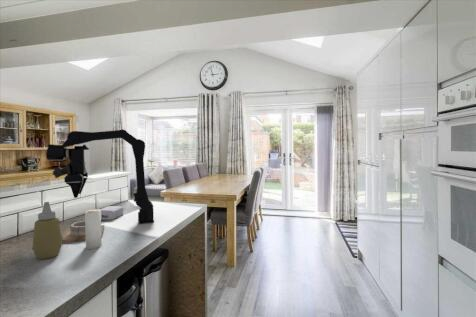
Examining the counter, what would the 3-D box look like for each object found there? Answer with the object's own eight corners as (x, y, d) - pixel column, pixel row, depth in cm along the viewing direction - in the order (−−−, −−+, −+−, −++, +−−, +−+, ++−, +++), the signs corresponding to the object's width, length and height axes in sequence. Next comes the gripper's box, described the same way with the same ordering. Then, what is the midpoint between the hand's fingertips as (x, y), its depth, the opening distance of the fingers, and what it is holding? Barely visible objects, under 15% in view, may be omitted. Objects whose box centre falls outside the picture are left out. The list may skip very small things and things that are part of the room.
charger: (129, 212, 141) (113, 220, 126) (113, 211, 141) (96, 219, 127) (128, 203, 141) (113, 210, 126) (112, 203, 141) (95, 210, 126)
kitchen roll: (102, 242, 96) (101, 208, 95) (100, 247, 91) (100, 212, 91) (86, 244, 94) (86, 210, 93) (84, 250, 89) (84, 213, 89)
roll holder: (104, 227, 113) (104, 217, 113) (101, 238, 101) (101, 226, 100) (67, 231, 108) (66, 220, 107) (59, 243, 95) (59, 231, 95)
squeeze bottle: (43, 251, 88) (41, 199, 87) (67, 250, 89) (66, 199, 88) (26, 261, 80) (24, 205, 79) (53, 260, 81) (51, 205, 80)
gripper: (59, 159, 116) (60, 193, 116) (48, 161, 99) (49, 201, 99) (87, 159, 120) (88, 191, 121) (81, 161, 103) (82, 199, 104)
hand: (77, 195), depth 111 cm, fingers open, 9 cm apart
